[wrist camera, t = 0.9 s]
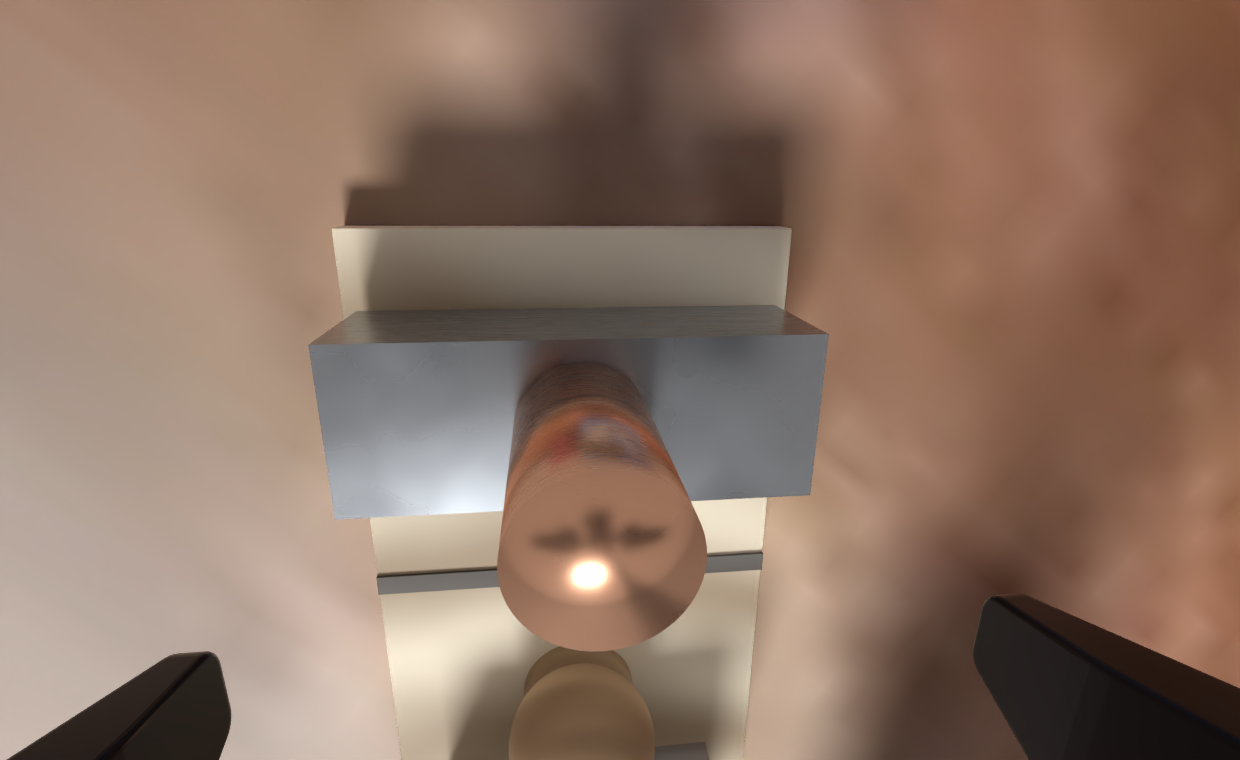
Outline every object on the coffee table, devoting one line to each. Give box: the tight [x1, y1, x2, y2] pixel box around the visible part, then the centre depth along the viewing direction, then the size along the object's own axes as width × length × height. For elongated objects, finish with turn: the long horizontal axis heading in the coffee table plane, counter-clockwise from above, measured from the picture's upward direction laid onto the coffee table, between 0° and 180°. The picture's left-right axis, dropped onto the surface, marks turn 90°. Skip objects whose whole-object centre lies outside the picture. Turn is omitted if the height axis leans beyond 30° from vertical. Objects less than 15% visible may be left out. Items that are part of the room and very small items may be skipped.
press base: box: [332, 226, 792, 760], centre depth 18 cm, size 22×12×6 cm, turn 179°
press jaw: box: [309, 305, 829, 652], centre depth 13 cm, size 4×11×9 cm, turn 89°
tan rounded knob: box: [509, 646, 655, 760], centre depth 19 cm, size 4×4×4 cm
